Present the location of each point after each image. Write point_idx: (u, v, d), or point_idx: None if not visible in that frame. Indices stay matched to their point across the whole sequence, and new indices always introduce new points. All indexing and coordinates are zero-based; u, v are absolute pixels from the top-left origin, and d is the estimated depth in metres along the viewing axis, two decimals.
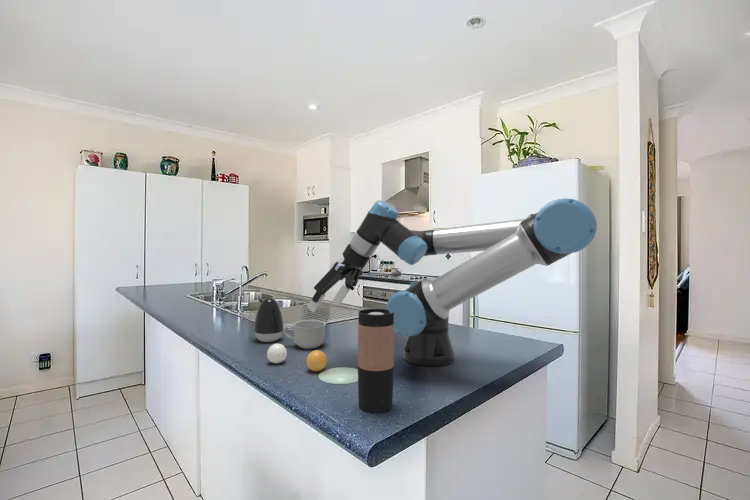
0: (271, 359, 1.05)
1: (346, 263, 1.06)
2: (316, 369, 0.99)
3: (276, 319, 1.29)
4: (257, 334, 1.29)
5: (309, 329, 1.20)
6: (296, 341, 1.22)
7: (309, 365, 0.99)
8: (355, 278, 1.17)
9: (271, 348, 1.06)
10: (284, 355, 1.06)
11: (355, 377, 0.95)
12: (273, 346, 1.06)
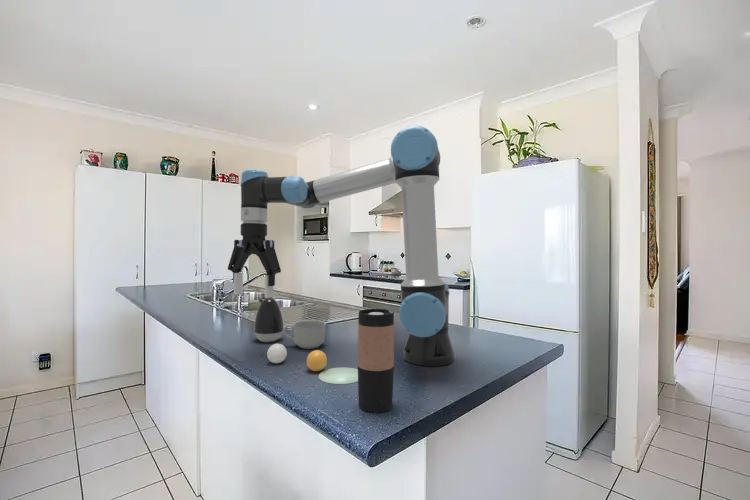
0: (271, 359, 1.05)
1: (264, 238, 1.10)
2: (316, 369, 0.99)
3: (276, 319, 1.29)
4: (257, 334, 1.29)
5: (309, 329, 1.20)
6: (296, 341, 1.22)
7: (309, 365, 0.99)
8: (238, 259, 1.15)
9: (271, 348, 1.06)
10: (284, 355, 1.06)
11: (355, 377, 0.95)
12: (273, 346, 1.06)
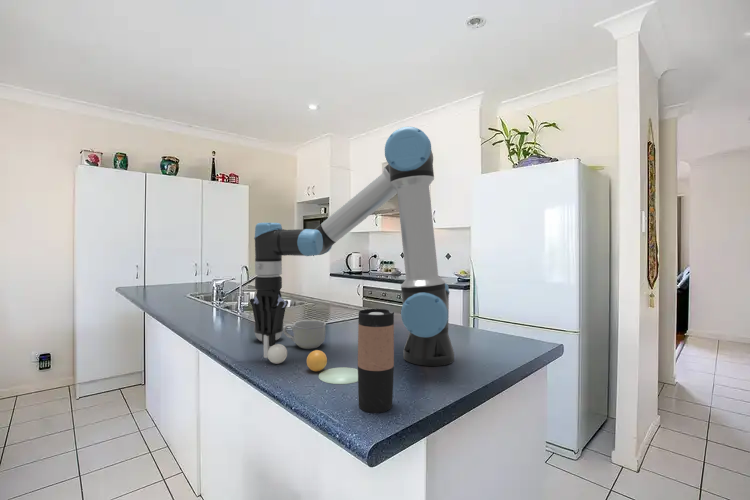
0: (271, 359, 1.05)
1: None
2: (316, 369, 0.99)
3: None
4: (257, 334, 1.29)
5: (309, 329, 1.20)
6: (296, 341, 1.22)
7: (309, 365, 0.99)
8: None
9: (272, 348, 1.05)
10: (284, 356, 1.06)
11: (355, 377, 0.95)
12: (274, 346, 1.06)
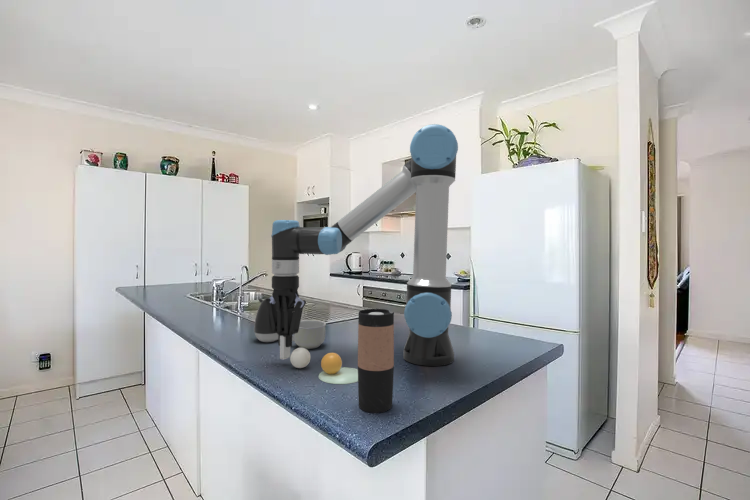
0: (292, 356, 1.01)
1: None
2: None
3: None
4: (257, 334, 1.29)
5: (309, 329, 1.20)
6: (296, 341, 1.22)
7: (324, 363, 0.97)
8: None
9: (299, 365, 1.01)
10: None
11: (355, 377, 0.95)
12: (300, 367, 1.01)
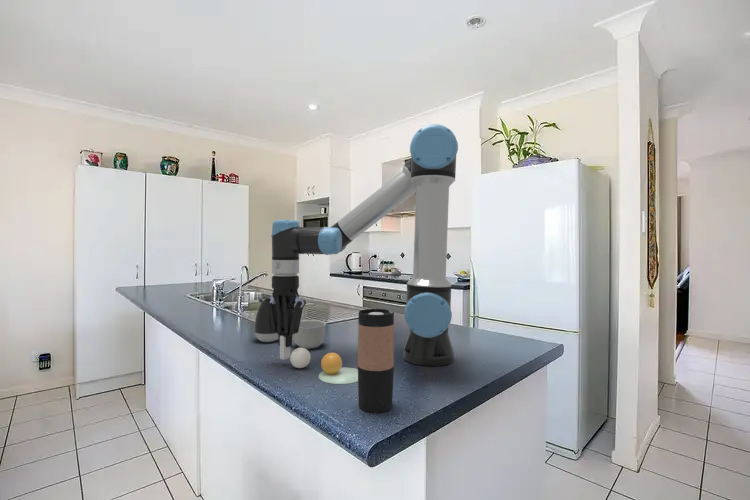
0: (292, 356, 1.01)
1: None
2: None
3: None
4: (257, 334, 1.29)
5: (309, 329, 1.20)
6: (296, 341, 1.22)
7: (324, 363, 0.97)
8: None
9: (299, 365, 1.01)
10: None
11: (355, 377, 0.95)
12: (300, 367, 1.01)
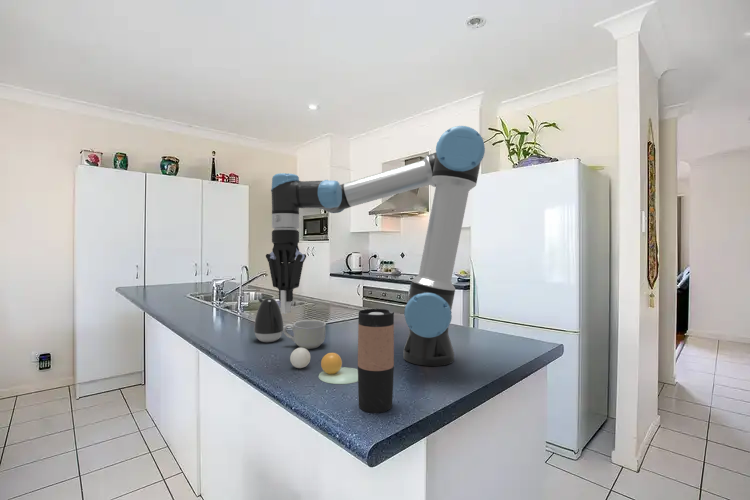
0: (292, 356, 1.01)
1: None
2: None
3: (276, 319, 1.29)
4: (257, 334, 1.29)
5: (309, 329, 1.20)
6: (296, 341, 1.22)
7: (324, 363, 0.97)
8: None
9: (299, 365, 1.01)
10: None
11: (355, 377, 0.95)
12: (300, 367, 1.01)
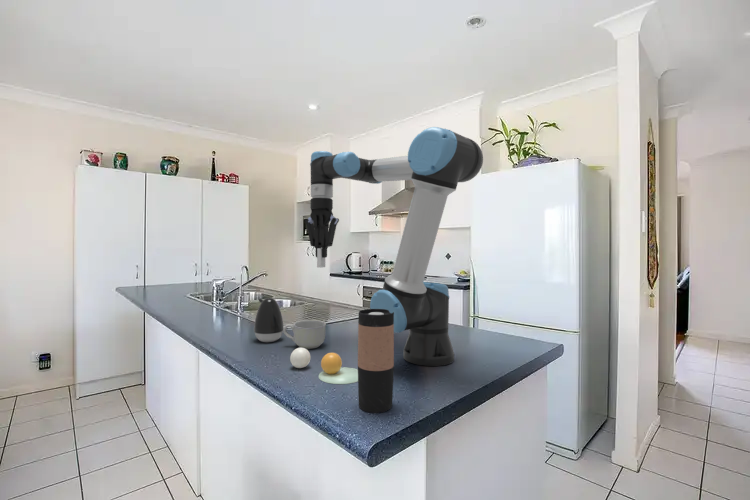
0: (292, 356, 1.01)
1: None
2: None
3: (276, 319, 1.29)
4: (257, 334, 1.29)
5: (309, 329, 1.20)
6: (296, 341, 1.22)
7: (324, 363, 0.97)
8: (314, 234, 1.30)
9: (299, 365, 1.01)
10: None
11: (355, 377, 0.95)
12: (300, 367, 1.01)
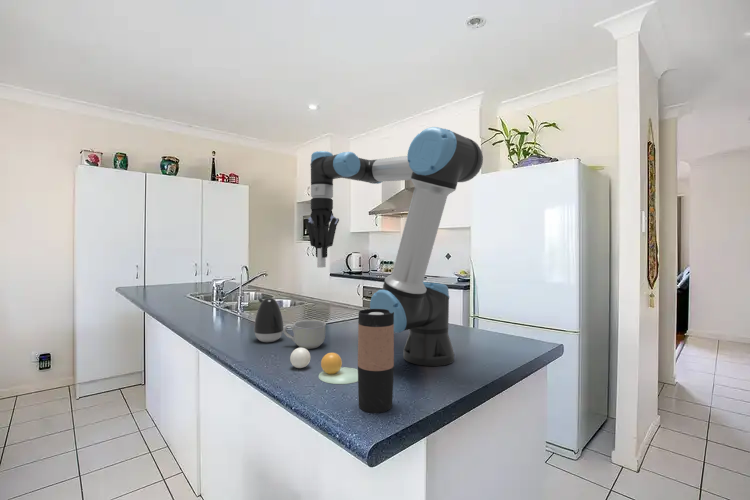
0: (292, 356, 1.01)
1: None
2: None
3: (276, 319, 1.29)
4: (257, 334, 1.29)
5: (309, 329, 1.20)
6: (296, 341, 1.22)
7: (324, 363, 0.97)
8: (315, 234, 1.30)
9: (299, 365, 1.01)
10: None
11: (355, 377, 0.95)
12: (300, 367, 1.01)
